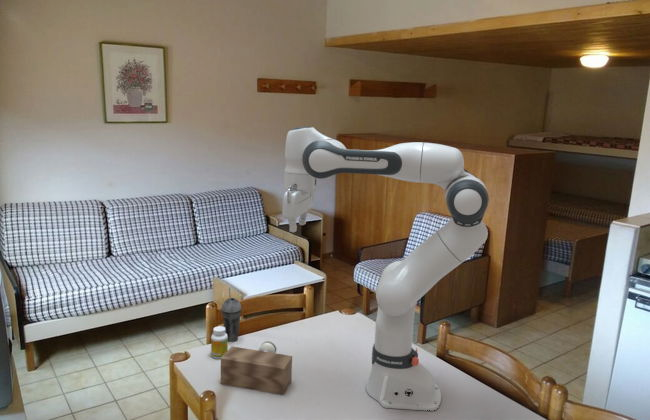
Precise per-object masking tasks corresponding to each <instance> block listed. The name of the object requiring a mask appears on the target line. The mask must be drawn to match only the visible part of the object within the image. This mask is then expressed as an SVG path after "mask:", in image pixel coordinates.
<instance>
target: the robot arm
mask: <svg viewBox="0 0 650 420" xmlns="http://www.w3.org/2000/svg"><path fill="white" fill-rule="evenodd" d="M284 159H285V168H284V173H283V174H284V180H283V181H284V183H283V188H284V189H287V191H285V192H284V195H283V202H282V218H283V219H285V220H288V221H287V223H288V226H289V232H290V233H295V232H297V228H298V225H300V226H304V225H306V223H307V216H308V210H310V209H311V208H312V207H313V206H314V200H315V199H314V198H315V193H316V192H315V190H316V189H315V187H316V186H317V184H318V180H317V179H321V180H322V179H327V178H330V177H333V176H334V175H338V174H359V175H361V174H362V175H376V176H382V177H385V178H386V177H387V178H391V179H396V180H399V181H402V182H403V181H404V182H411V183H417V184H418V183H421V184H422V183H423V184H433V185H436V186H440V188H442V189H443V190H444V199H445V204H446V207H447V209H448V212H449V214H450V216H451V218H450V219H449V221H448V222H446V224H444V226H441V228H439V229H438V230H437V231H435V232H434V233H433V234H432V235H430V236H429V237H428V238H426V239H425V240H423V242H421V243H420V244H419V245H418V246H416V247H415V248H414V249H413V250H412V251H411V252H410V253H409V254H408V255H407V256H406V257H405V258H404V259H403V260H396V261H393V262H391V263H389V264H388V265H387V266H386V267H385V268H384V269H383V270H382V273H381V275H380V278H379V281H378V284H377V286H376V289H375V297H376V302H377V312H376V313H377V314H376V319H375V329H374V330H375V332H374V343H373V345H372V349H371V364H372V365H371V369H370V374H369V377H368V380H367V383H366V386H365V391H366V392H367V394H368V395H369V396H370V397H371V398H372V399H374V400H375V401H377V402H378V404H380V406H381V407H383V408H385V409H399V410H411V411H412V410H413V411H414V410H415V411H426V412H427V410H428V411H429V410H430V411H431V412H435V411H436V410H438V409H437V408H440V406H441V404H440V403H442V391H441V389H440V387H439V386H438V384H436V383H435V380H434V376H433V374H432V372H431V370H430V369H428V368H427V367H426V366H425V365H423V364H422V363H421V362H419V361H420V359H419V353H418V348H415V349H414V348H413V335H414V325H415V315H416V314H415V313H416V304H417V302H418V301H419V300H420V299H421V298H422V297H424V296H425V295H426V294H427V293H428V292H429V291H430V290H431V289H432V288H433V287H434V286H435V285H436V284H437V283H438V282H439V281H440V280H441V279H443V278H444V277H445V276H447V275H448V274H449V273H451V272H452V271H453V270H454V269H455V268H458V266H459V265H461V264H462V263H463V262H465V261H467V260H468V259H469V258H470V257H471V256H472V255H474V254H475V253H476V252H477V251H478V250H479V249H480V248H481V247H482V246H483V244H484V243H485V242H486V241H487V239H488V235H489V233H488V232H489V231H488V229H487V225H486V224H485V222H484V220H483V218H484V216H485V214H486V211H487V209H488V206H489V199H490V197H489V193H488V190H487V187H486V185H485V183H484V182H483V181H482V180H481V179H480V178H478V177H477V176H476V175H475V174H473V173H471V172H470V171H469V170H467V169H465V160H464V159H465V158H464V156H463V152H462V151H461V150H460V149H458V148H456V147H453V146H450V145H446V144H445V145H444V144H440V143H435V142H434V143H433V142H423V141H421V142H419V141H418V142H416V141H415V142H414V141H413V142H403V143H398V144H393V145H391V146H388V147H384V148H381V149H373V150H372V149H371V150H370V149H369V150H367V149H366V150H365V149H362V150H361V149H348V148H347V147H346V146H345V144H344V143H343V142H341V141H339V140H338V139H337V140H336V139H334V138H331V137H329V136H327V135H325V134H322V133H321V132H319V131H318V130H317V129H315V127H313V126H299V127H294V128H291V129H290V130H289V131H288V132H287V133H286V140H285V147H284ZM297 218H299V219H298V220H297ZM297 221H298V225H297ZM439 405H440V406H439ZM434 410H435V411H434ZM430 411H429V412H430Z"/></svg>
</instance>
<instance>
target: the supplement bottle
mask: <svg viewBox="0 0 650 420" xmlns="http://www.w3.org/2000/svg"><path fill="white" fill-rule="evenodd" d="M212 330H213V332H212V334H211V337H210V342H211V343H210V345H211V346H210V352H211V353H210V354H211V357H212V358H213V359H216V360H221V357H222V356H223V355H224V354H225V353H226V352H227V351H228V350H229V349H228V344H229V342H228V336H227V334H226V333H225V327H224V325H223V326H221V325H217V326H215V327H213V329H212Z"/></svg>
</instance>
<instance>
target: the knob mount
mask: <svg viewBox="0 0 650 420" xmlns="http://www.w3.org/2000/svg"><path fill="white" fill-rule="evenodd" d="M292 369H293V355H288V354H281V353H277V352H276V353H270V352H264V351H259V349H258V350H257V349H252V348H251V349H250V348H245V347H244V348H243V347H239V346H234V345H233V346H230V347H229V349H228V351H227V352H226V353H225V354H224V355H223V356H222V357H221V359H220V385H225V386H230V387H236V388H240V389H242V388H243V389H248V390H253V391H258V392H263V393H269V394H275V395H280V396H284V395H285V393H286V391H287V389H288V388H289V386H290V384H291V383H292V379H293V378H292V374H293V373H292V372H293V370H292Z"/></svg>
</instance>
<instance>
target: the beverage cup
mask: <svg viewBox="0 0 650 420" xmlns="http://www.w3.org/2000/svg"><path fill="white" fill-rule="evenodd" d="M228 296H229V297H228V298H227V299H226V300H224V301H223V303H222V304H221V315H222V322H223V323H222V325H223V327H225V333H226V334H227V336H228V343H235V342H238V340H239V339H238V338H239V332H240V322H241V314H242V311H243V308H242V305H241V302H240V301H239V300H238V298H234V297H232V294H231V287H228Z"/></svg>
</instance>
